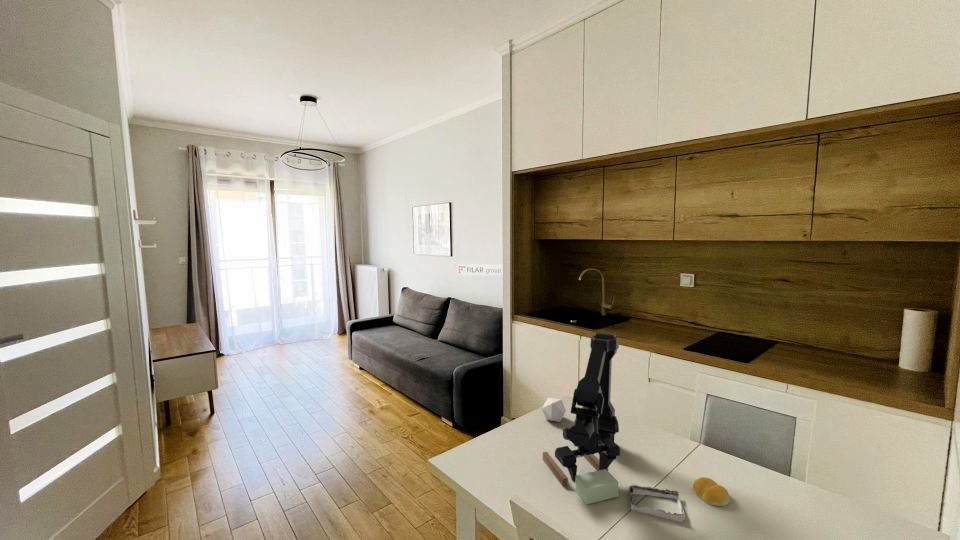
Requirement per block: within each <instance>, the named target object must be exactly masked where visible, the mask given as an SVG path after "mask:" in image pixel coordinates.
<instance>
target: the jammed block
mask: <svg viewBox="0 0 960 540" xmlns="http://www.w3.org/2000/svg"><path fill="white" fill-rule="evenodd" d="M574 485H575V489H574V490H575V492H576V493H577V495H579V497H580V498H581V500H582V501H583V502H584V503H585V504H586V505H589V504H593V503H597V502H602V501H606V500H610V499H614V498H619V481H618V480H617V479H616V478H615V477H614V476H613V475H612V473H610V471H609V470H608V471H607V470H606V469H604V470H599V471H597V470H595V471H594V470H593V471H590V472H586V473H581V474H576V476H575V483H574Z"/></svg>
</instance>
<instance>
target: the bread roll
mask: <svg viewBox="0 0 960 540" xmlns="http://www.w3.org/2000/svg"><path fill="white" fill-rule="evenodd" d="M691 485H692V486H691V487H692V490H693V492H694V493H695V495H696V496H697V497H698V498H699V499H702V501H704V502H705V503H707V505H711V506H716V507H725V506H727V505H729V503H730V499H731V497H730V496H731V495H730V494H729V492H728V490H727V489H726V487H725V486H722V485H719V484H718V482H717V481H715V480H714V479H712V478H710V477H705V476H704V477H700V478H697V479H695V480H694V481H693V482H692V484H691Z"/></svg>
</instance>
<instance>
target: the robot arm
mask: <svg viewBox="0 0 960 540" xmlns="http://www.w3.org/2000/svg"><path fill="white" fill-rule="evenodd" d="M589 345H590V347H589V348H590V353H589V357H588V362H587V366H586V369H585V373H584V376H583V377H582V378H580V380H579V381H578V383H577V385H576V388H575V389H574V390H573V395H572V396H573V397H572V402H571V406H570V413H571V414H573V415H575V420H574V421H573V423H572V425H571V426H570V427H563V428H562V437H563V439H564V440H566V441H569V442H571V443H572V444H573V446H574V447H577V449H574V450H573V449H571V448H570V447H569V446H568V445H565V446H560V447H557V448H555V449H554V457H555V458H556V460H557V461H558V462H559V463H560V465H561V466H562V467H563V468H566V469H567V470H568V472H569V476H570V479H571V481H572V483H573V484H575V476H576V475H577V471H578V465H577V459H578V458H585V457H584V456H589V455H593V454H594V455H596V454H598V456H599V457H598V459H599V470H604V469H606V470H607V469H608V470H609V468H610V466H611V465H612V463H613V462H614V461H615V460H616V459H617V457H620V456H621V447H620V446H619V444H617V442H615V435H616V434H617V433H619V431H620V426H619V420H618V418H617V416H616V409H615V408H614V405H613V404H612V402H611V392H612V391H611V388H612V387H611V386H612V364H613V363H612V359H613V358H614V357H615V356H616V354H617V352H618V350H619V348H620V347H619V346H620V338H619V337H617V335H616V334H614V333H605V332H596V333H595V334H593V335H590V344H589ZM577 406H578V407H577Z"/></svg>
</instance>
